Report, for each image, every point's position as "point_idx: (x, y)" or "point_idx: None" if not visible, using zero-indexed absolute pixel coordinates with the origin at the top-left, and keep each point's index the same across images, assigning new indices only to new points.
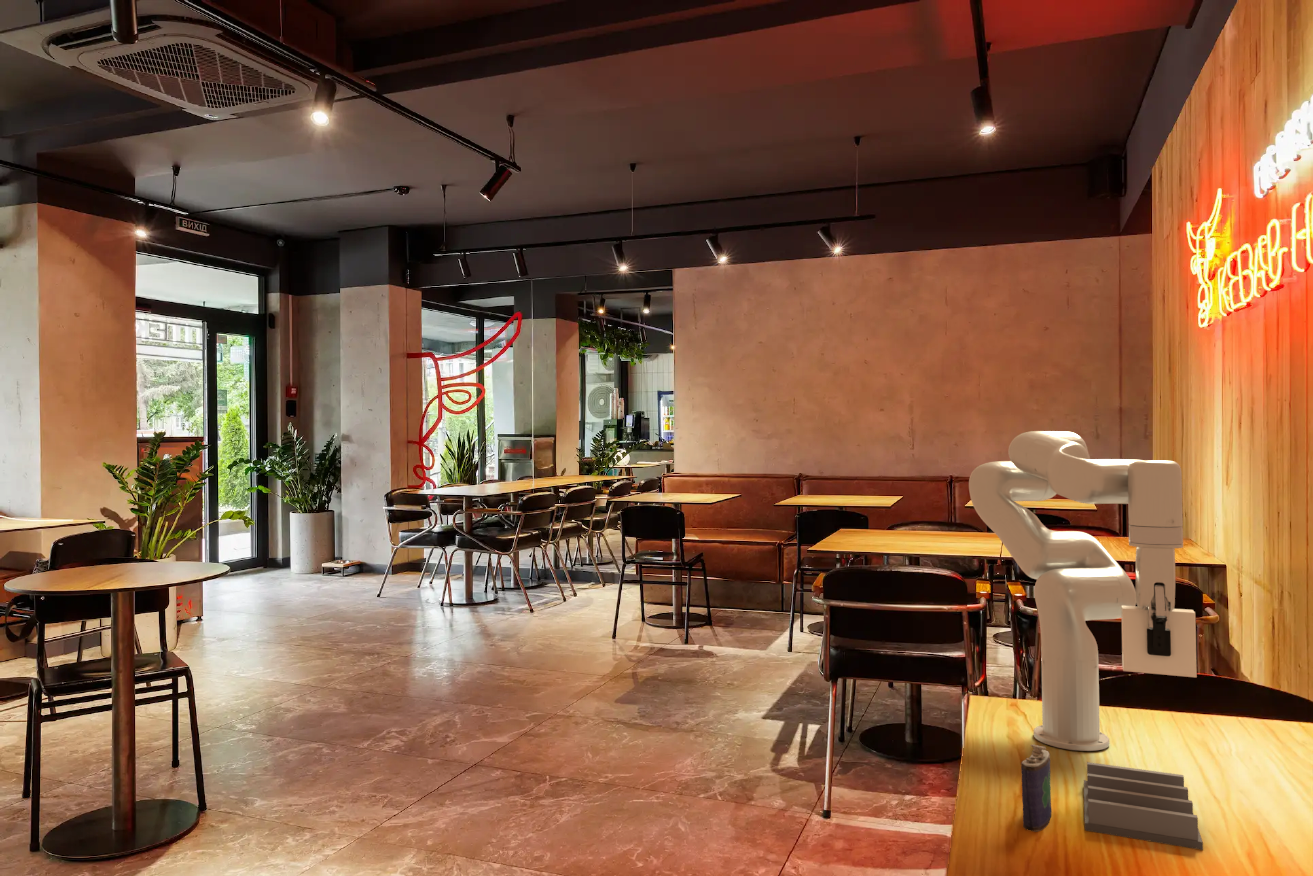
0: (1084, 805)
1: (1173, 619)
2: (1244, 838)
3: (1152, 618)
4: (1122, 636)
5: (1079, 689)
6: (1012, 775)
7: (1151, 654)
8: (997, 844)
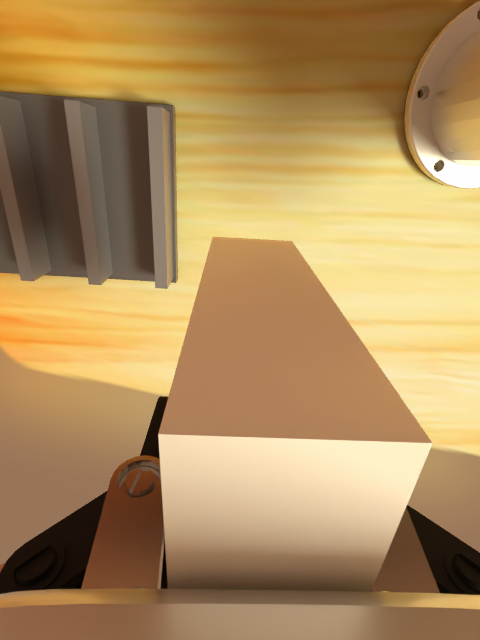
0: (19, 93)
1: None
2: (67, 324)
3: (14, 561)
4: (246, 287)
5: None
6: None
7: None
8: None
